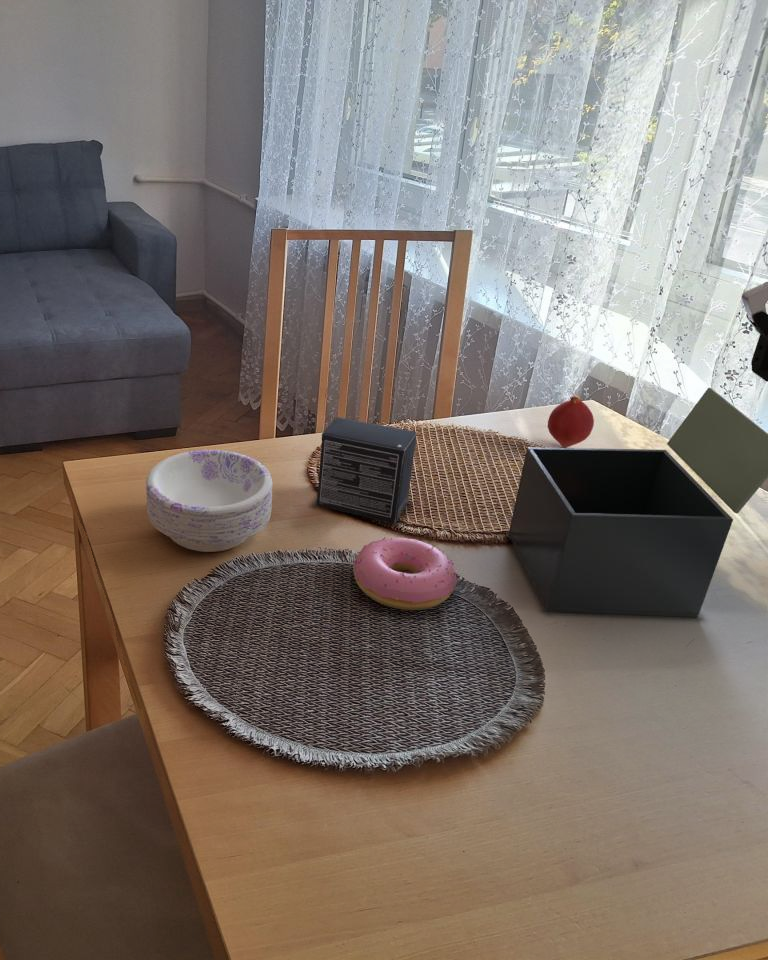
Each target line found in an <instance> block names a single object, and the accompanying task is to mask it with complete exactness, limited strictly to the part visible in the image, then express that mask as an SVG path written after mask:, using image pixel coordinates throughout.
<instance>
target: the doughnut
mask: <svg viewBox="0 0 768 960" xmlns="http://www.w3.org/2000/svg"><path fill="white" fill-rule="evenodd" d="M357 552H358V553H357V554H356V556H355V557H354V561H353V565H352V571H353V574H354V579H355V582H356V584H357V585H358V587H359V589H360V590H361V591H362V592H363V593H364V594H365V595H366V596H367V597H369V598H370V599H371V600H373V601H375V602H376V603H379V604H381V605H382V606H386V607H389V608H392V609H397V610H403V611H421V610H428V609H431V608H434V607H437V606H438V605H441V604H442V603H443V602H445V601H446V600H448V599H449V597H450V596H451V595H452V593H453V591H454V590H456V585H457V578H458V575H457V574H456V573H457V572H456V570H455V564H454V562H453V560H451V559H450V557H449V555H446V554H445V553H444V551H441V549H438V548H437V547H435V545H433V544H430V543H428V542H425V541H421V540H418V539H415V538H410V537H385V536H384V537H383V538H381V539H377V540H374V541H372V542H370V543H368V544H365V545H363V547H362V549H361V550H360V551H357Z"/></svg>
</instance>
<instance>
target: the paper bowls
mask: <svg viewBox="0 0 768 960" xmlns="http://www.w3.org/2000/svg"><path fill="white" fill-rule="evenodd" d="M272 479H273V478H272V474H271V473H270V471H269V470H268V469H267V467H266V466H265V465H264V464H263V463H261V462H260V461H258V460H256V459H254V458H253V457H250V456H248V455H245V454H242V453H238V452H234V451H230V450H229V451H228V450H221V449H196V450H190V451H185V452H180V453H177V454H174V455H171V456H169V457H166V458H164V459H162V460H160V461H159V462H158V463H157V464H154V466H153V467H151V469H150V470H149V471H148V474H147V476H146V479H145V491H146V514H147V517H148V520H149V522H150V523H151V525H152V526H153V527H154V528H155V529H156V530H157V531H159V532H160V533H161V534H163V535H165V536H166V537H169V538H170V539H171V540H172V541H173V542H174V543H176V544H177V545H179V546H180V547H183V548H184V549H187V550H191V551H195V552H203V553H211V552H212V553H215V552H216V553H217V552H223V551H226V550H230V549H233V548H235V547H237V546H239V545H241V544H243V543H244V542H245V541H246V540H247V539H248V538H251V537H252V536H254V535H256V534H258V533H259V532H261V531H262V530H263V529H265V527H266V526H267V525H268V523H269V521H270V519H271V514H272V503H273V502H272V501H273V480H272Z"/></svg>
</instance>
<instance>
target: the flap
mask: <svg viewBox="0 0 768 960" xmlns="http://www.w3.org/2000/svg"><path fill="white" fill-rule="evenodd" d="M666 445H667V446H668V447H669V448H670V449H671V450H672V451H673V452H674V453H675V454H676V455H677V456H678V457H679V458H680V459H681V461H683V462H684V463H685V464H686V466H687V467H689V468H690V470H692V472H694V473H695V475H696V476H698V478H699V479H700V480H701V481H702V482H703V483H704V484H705V485H706V486H707V487H708V488H709V489H710V490H711V491H712V492H713V493H714V494H716V496H717V497H718V498H719V499H720V500H721V501H722V502H723V503H724V504H725V505H726V506H727V507H728V508H729V509H730V510H731V511H732V512H733V513H735V514H737V515H738V514H739V513H740V512H741V510H742V509H743V508H744V507H745V506H746V505H747V503H748V502H749V501H750V499H751V498H752V497H753V496H754V495H755V493H756V492H757V491H758V490H759V489H760V488H761V486H762V485H763V484H764V482H766V480H767V479H768V432H766V431H765V430H764V429H763V428H762V427H760V426H759V425H758V424H756V423H755V422H754V421H753V420H752V419H751V418H749V417H748V416H747V415H745V414H744V413H743V412H741V411H740V410H739V409H738V408H737V407H735V406H734V405H733V404H732V403H730V402H729V401H728V400H727V399H726V398H725V397H723V396H722V395H720V394H719V393H718V391H716V390H715V389H713V388H712V387H707V389H705V391H704V393H703V394H702V396H701V397H700V398H699V400H698V401H697V402H696V403H695V405H694V406H693V407H692V409H691V410H690V412H689V413H687V416H686V417H685V419H684V420H683V421H682V423H681V424H680V425H679V426H678V428H677V429H676V431H675V432H674V433H673V434H672V436H671V437H670V439H669V440H668V441H667V443H666Z"/></svg>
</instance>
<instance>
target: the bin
mask: <svg viewBox="0 0 768 960" xmlns="http://www.w3.org/2000/svg"><path fill="white" fill-rule="evenodd" d="M733 521H734V518H733V517H731V515H730V514H729V513H728V512H727V511H726V510H725V509H724V508H723V507H722V506H721V505H720V504H719V503H718V502H717V501H716V500H715V499H714V498H713V496H711V495H710V494H709V493H708V491H706V489H705V488H703V487H702V485H701V484H700V483H699V482H698V481H697V480H696V479H695V478H694V477H693V476H692V475H691V474H690V473H689V472H688V471H687V470H686V469H685V468H684V467H683V466H682V465H681V464H680V463H679V462H678V461H677V460H676V458H674V456H673V455H672V454H671V453H669V451H668V450H666V449H651V448H650V449H649V448H648V449H647V448H646V449H642V448H640V449H639V448H638V449H637V448H635V449H634V448H594V447H593V448H589V447H587V448H586V447H585V448H584V447H536V446H535V447H532V446H530V447H529V446H528V447H526V451H525V457H524V460H523V465H522V469H521V475H520V479H519V483H518V489H517V492H516V497H515V501H514V506H513V511H512V516H511V521H510V525H509V529H508V534H507V535H508V538H509V540H510V542H511V543H512V545H513V547H514V550H515V551H516V553H517V555H518V557H519V559H520V561H521V564H522V565H523V566H524V569H525V571H526V572H527V574H528V577H529V578H530V580H531V582H532V584H533V586H534V588H535V590H536V592H537V593H538V595H539V597H540V599H541V602H542V604H543V605H544V607H545V609H546V611H547V612H551V613H552V612H553V613H575V614H576V613H579V614H603V615H604V614H605V615H629V616H631V615H632V616H657V617H658V616H659V617H680V618H681V617H682V618H683V617H684V618H685V617H686V618H698V617H699V615H700V612H701V611H702V607H703V604H704V601H705V599H706V596H707V593H708V591H709V589H710V588H709V587H710V585H711V582H712V579H713V576H714V574H715V571H716V568H717V565H718V562H719V560H720V558H721V555H722V552H723V550H724V547H725V544H726V541H727V538H728V535H729V533H730V531H731V527H732V524H733Z"/></svg>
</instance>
